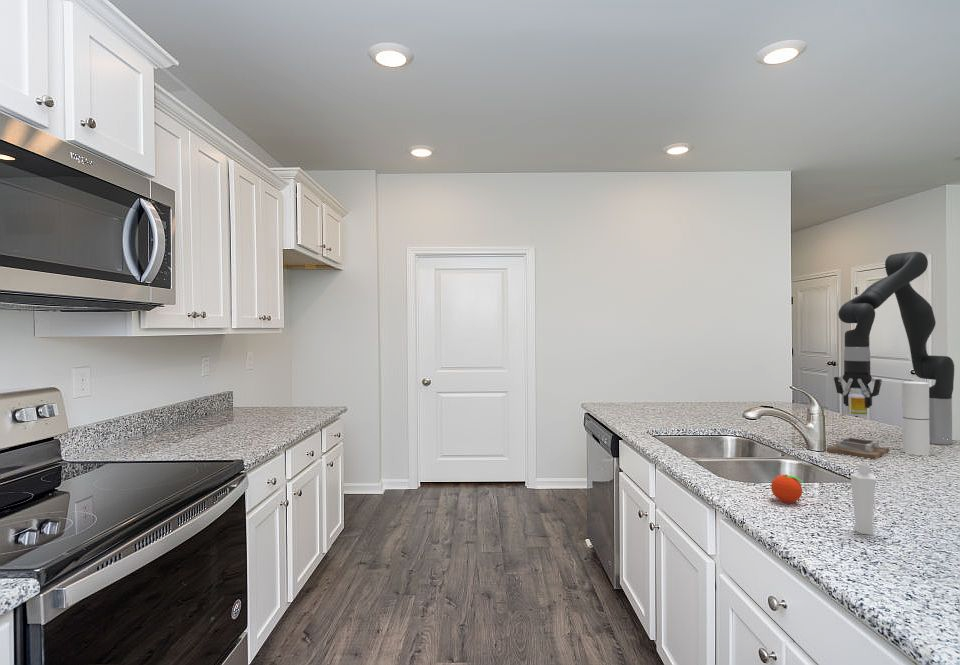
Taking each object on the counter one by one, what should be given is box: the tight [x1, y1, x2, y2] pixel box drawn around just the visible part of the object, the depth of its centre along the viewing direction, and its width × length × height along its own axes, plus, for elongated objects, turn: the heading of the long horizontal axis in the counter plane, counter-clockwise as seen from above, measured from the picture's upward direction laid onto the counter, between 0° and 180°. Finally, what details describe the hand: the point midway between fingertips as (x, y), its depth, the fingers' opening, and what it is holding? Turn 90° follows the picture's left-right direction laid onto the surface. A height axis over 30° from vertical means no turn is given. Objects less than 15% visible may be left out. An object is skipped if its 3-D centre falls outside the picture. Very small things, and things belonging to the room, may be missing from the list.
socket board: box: [826, 436, 890, 460], centre depth 179 cm, size 15×14×4 cm
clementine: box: [770, 474, 808, 504], centre depth 130 cm, size 8×7×7 cm
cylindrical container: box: [901, 381, 931, 456], centre depth 176 cm, size 7×7×25 cm
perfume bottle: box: [850, 462, 876, 536], centre depth 111 cm, size 5×4×15 cm
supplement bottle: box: [847, 387, 868, 417], centre depth 178 cm, size 5×5×10 cm
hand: (857, 406), depth 179 cm, fingers closed on supplement bottle, 5 cm apart
